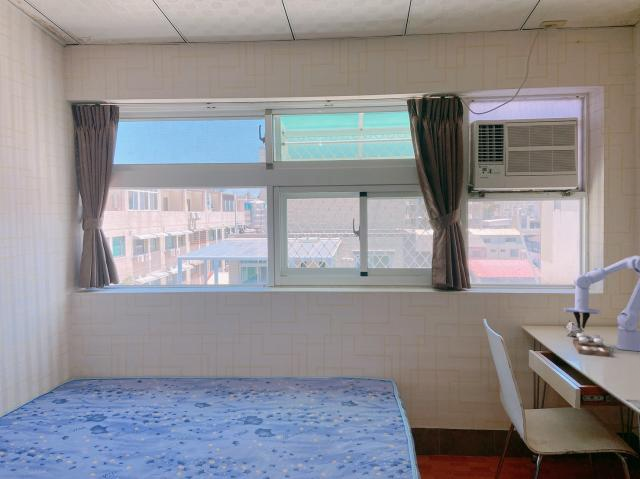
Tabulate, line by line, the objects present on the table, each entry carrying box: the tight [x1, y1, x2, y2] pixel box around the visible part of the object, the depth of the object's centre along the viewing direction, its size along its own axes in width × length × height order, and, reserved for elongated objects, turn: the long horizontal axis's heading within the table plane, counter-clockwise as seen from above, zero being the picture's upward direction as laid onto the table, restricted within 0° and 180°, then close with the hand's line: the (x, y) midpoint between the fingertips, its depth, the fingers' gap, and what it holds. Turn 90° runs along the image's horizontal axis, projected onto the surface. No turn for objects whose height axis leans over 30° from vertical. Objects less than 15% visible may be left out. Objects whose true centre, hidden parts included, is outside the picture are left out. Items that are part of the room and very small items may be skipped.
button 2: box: [590, 333, 601, 340], centre depth 210 cm, size 4×4×2 cm
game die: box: [564, 320, 585, 337], centre depth 227 cm, size 9×8×10 cm
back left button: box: [576, 332, 586, 339], centre depth 213 cm, size 4×4×2 cm
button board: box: [572, 338, 611, 358], centre depth 206 cm, size 12×19×2 cm, turn 157°
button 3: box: [594, 338, 604, 344], centre depth 204 cm, size 4×4×2 cm
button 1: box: [578, 336, 589, 343], centre depth 206 cm, size 4×4×2 cm
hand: (581, 327), depth 213 cm, fingers closed
